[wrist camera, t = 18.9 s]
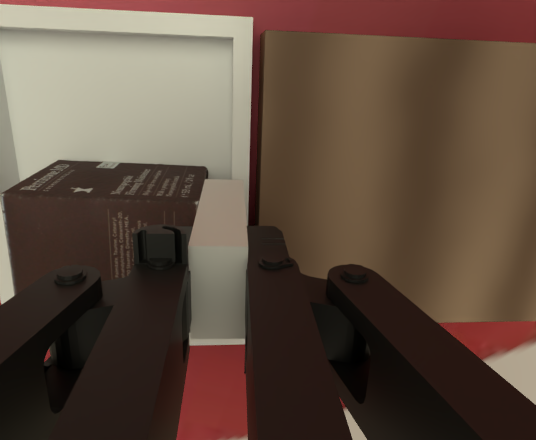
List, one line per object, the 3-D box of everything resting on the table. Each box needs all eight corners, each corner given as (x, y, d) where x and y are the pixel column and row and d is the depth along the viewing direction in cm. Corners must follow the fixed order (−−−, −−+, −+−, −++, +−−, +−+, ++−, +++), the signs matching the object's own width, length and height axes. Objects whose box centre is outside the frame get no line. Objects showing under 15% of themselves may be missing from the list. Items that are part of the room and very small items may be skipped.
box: (204, 201, 16) (-5, 192, 15) (200, 337, 18) (16, 335, 17) (209, 164, 22) (57, 156, 21) (206, 270, 24) (67, 267, 23)
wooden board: (575, 49, 22) (626, 47, 19) (511, 293, 27) (545, 320, 24) (260, 34, 20) (265, 30, 18) (252, 296, 25) (255, 325, 22)
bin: (250, 22, 20) (252, 17, 18) (243, 318, 26) (245, 344, 23) (-23, 9, 19) (-58, 1, 17) (31, 321, 24) (10, 349, 22)
